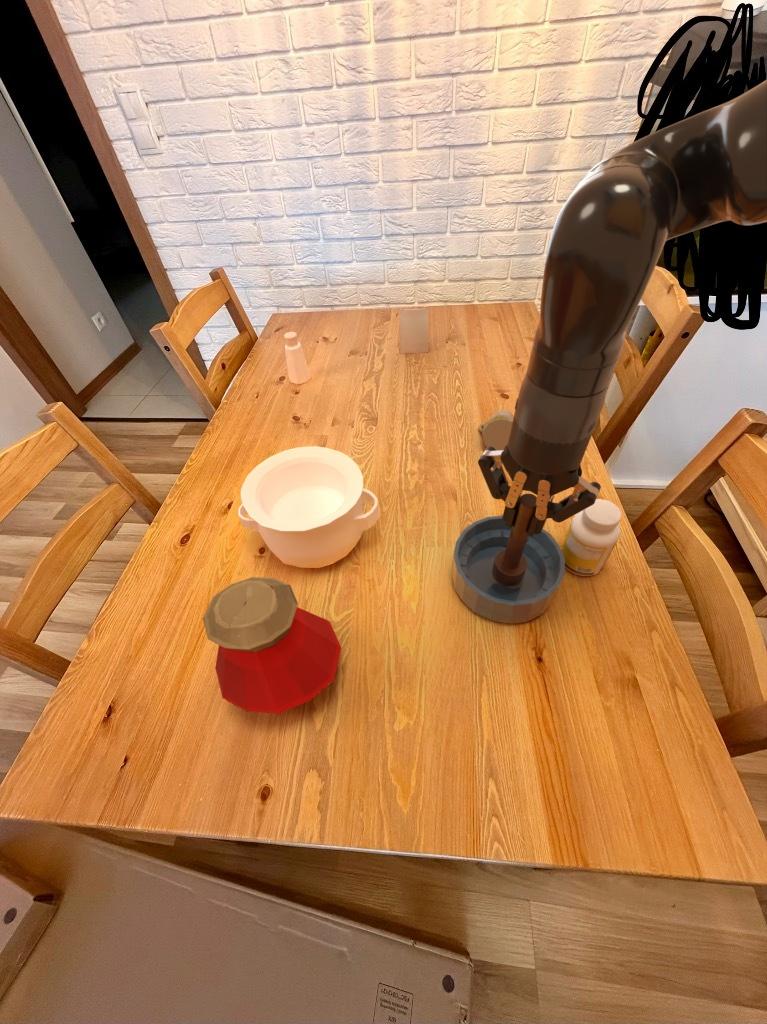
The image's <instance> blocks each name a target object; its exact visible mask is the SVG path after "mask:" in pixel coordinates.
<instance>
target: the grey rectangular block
mask: <svg viewBox="0 0 767 1024" xmlns="http://www.w3.org/2000/svg"><path fill="white" fill-rule="evenodd" d="M398 313H399V314H398V317H399V318H398V319H399V347H400V348H399V349H400V354H403V355H405V354H424V353H426V354H427V353H429V323H430V321H429V308H428V307H425V308H405V309H399V310H398Z"/></svg>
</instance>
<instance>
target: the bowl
mask: <svg viewBox="0 0 767 1024" xmlns="http://www.w3.org/2000/svg"><path fill="white" fill-rule="evenodd" d="M502 517H503V514H502V515H494V516H492V515H491V516H486V517H484V518H481V519H478V520H476V521H474V522H472V523H471V524H470V525H468V526H467V527H466V528H465V529H463V530H462V532H461V533H460V535H459V537H458V538H457V540H456V541H455V545H454V550H453V556H452V557H453V559H452V568H451V577H452V582H453V583H452V584H453V588H454V590H455V592H456V593H457V595H458V596H459V599H460V600H461V601H462V603H463V604H465V606H467V607H468V608H469V609H470V611H472V612H474V613H475V614H477V615H478V616H481V617H484V618H486V619H488V620H490V621H493V622H499V623H503V624H517V623H518V624H520V623H527V622H529V621H530V620H534V619H536V618H538V617H540V616H541V615H543V614H544V613H545V612H546V611H547V610H548V609H549V608H550V607H551V606H552V605H553V602H554V599H555V598H556V595H557V592H558V590H559V588H560V587H561V583H562V581H563V579H564V576H565V574H566V567H565V558H564V556H563V553H562V551H561V548H562V547H561V545H560V544H559V543H558V542H557V540H556V538H554V537H553V536H552V534H551V533H550V532H549V531H547V530H546V529H544V528H543V529H542V531H541V533H540V534H539V535H538V534H535V533H534V535H533V537H532V536H529V535H528V538H527V541H526V544H525V547H524V550H523V553H522V554H523V555H524V557H525V558H526V560H527V568H526V571H525V574H524V582H523V584H522V586H520V587H519V588H517V589H510V588H508V587H507V586H503V585H501V584H499V583H498V582H497V581H496V580H495V579H494V577H493V575H492V568H493V564H494V560H495V557H496V555H497V554H498V553H499V552H500V551H502V550H505V549H506V547H507V543H508V540H509V536H510V532H511V528H512V527H511V528H509V527H507V526H506V522H505V521H503V518H502Z"/></svg>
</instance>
